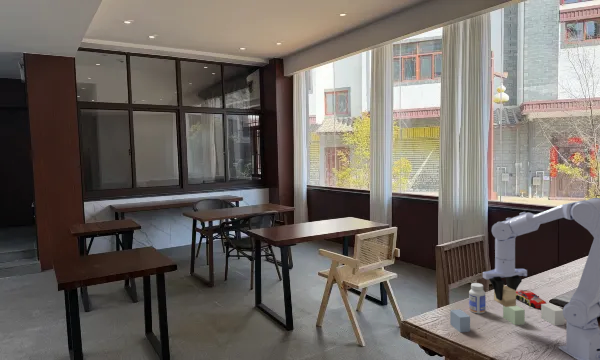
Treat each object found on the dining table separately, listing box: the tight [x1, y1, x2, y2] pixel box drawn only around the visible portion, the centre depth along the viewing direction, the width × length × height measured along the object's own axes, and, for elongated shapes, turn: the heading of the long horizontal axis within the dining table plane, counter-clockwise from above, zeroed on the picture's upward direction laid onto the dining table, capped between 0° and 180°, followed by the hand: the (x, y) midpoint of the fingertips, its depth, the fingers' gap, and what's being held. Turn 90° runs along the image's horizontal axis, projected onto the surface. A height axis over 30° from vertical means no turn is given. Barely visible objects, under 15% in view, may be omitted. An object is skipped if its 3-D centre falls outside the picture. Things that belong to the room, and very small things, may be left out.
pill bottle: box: [468, 282, 487, 315], centre depth 142 cm, size 5×5×10 cm
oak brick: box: [493, 284, 517, 307], centre depth 128 cm, size 6×4×5 cm, turn 8°
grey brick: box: [540, 302, 565, 327], centre depth 132 cm, size 6×4×5 cm, turn 8°
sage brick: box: [502, 304, 526, 326], centre depth 133 cm, size 6×4×5 cm, turn 8°
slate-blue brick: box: [449, 308, 471, 333], centre depth 129 cm, size 6×4×5 cm, turn 8°
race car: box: [516, 289, 548, 309], centre depth 148 cm, size 13×5×4 cm, turn 10°
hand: (504, 298), depth 129 cm, fingers closed on oak brick, 3 cm apart
